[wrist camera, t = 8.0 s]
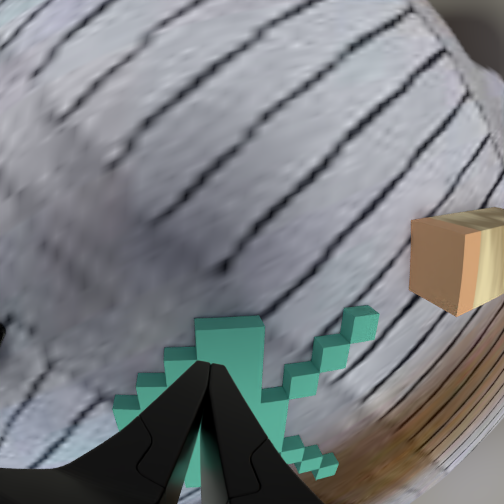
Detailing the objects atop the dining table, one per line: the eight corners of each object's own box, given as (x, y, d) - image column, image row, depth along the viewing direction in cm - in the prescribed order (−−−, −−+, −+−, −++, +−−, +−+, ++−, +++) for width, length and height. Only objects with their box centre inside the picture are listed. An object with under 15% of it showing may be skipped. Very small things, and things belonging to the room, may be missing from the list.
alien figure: (364, 302, 24) (100, 316, 20) (379, 313, 22) (93, 331, 17) (327, 461, 28) (145, 482, 24) (334, 474, 26) (145, 497, 22)
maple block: (456, 316, 18) (531, 277, 21) (465, 234, 17) (538, 216, 19) (408, 289, 24) (491, 261, 26) (410, 220, 22) (494, 207, 25)
